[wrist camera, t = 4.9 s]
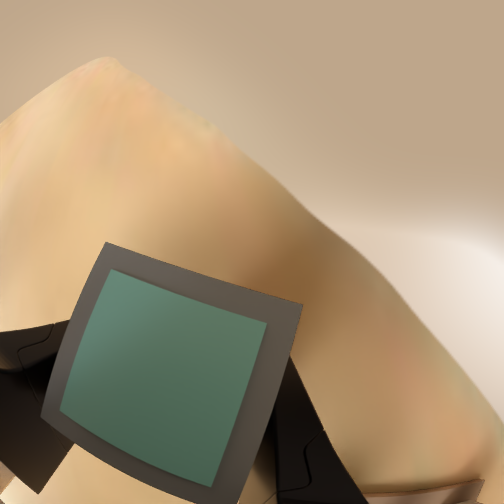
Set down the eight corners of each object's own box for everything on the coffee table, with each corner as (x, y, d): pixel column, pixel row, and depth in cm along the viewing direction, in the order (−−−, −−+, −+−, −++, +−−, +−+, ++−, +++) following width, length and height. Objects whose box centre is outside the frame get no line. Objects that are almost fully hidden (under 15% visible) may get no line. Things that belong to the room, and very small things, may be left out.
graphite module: (242, 422, 13) (232, 516, 3) (172, 397, 13) (37, 416, 3) (264, 355, 15) (304, 303, 5) (195, 333, 15) (103, 238, 5)
